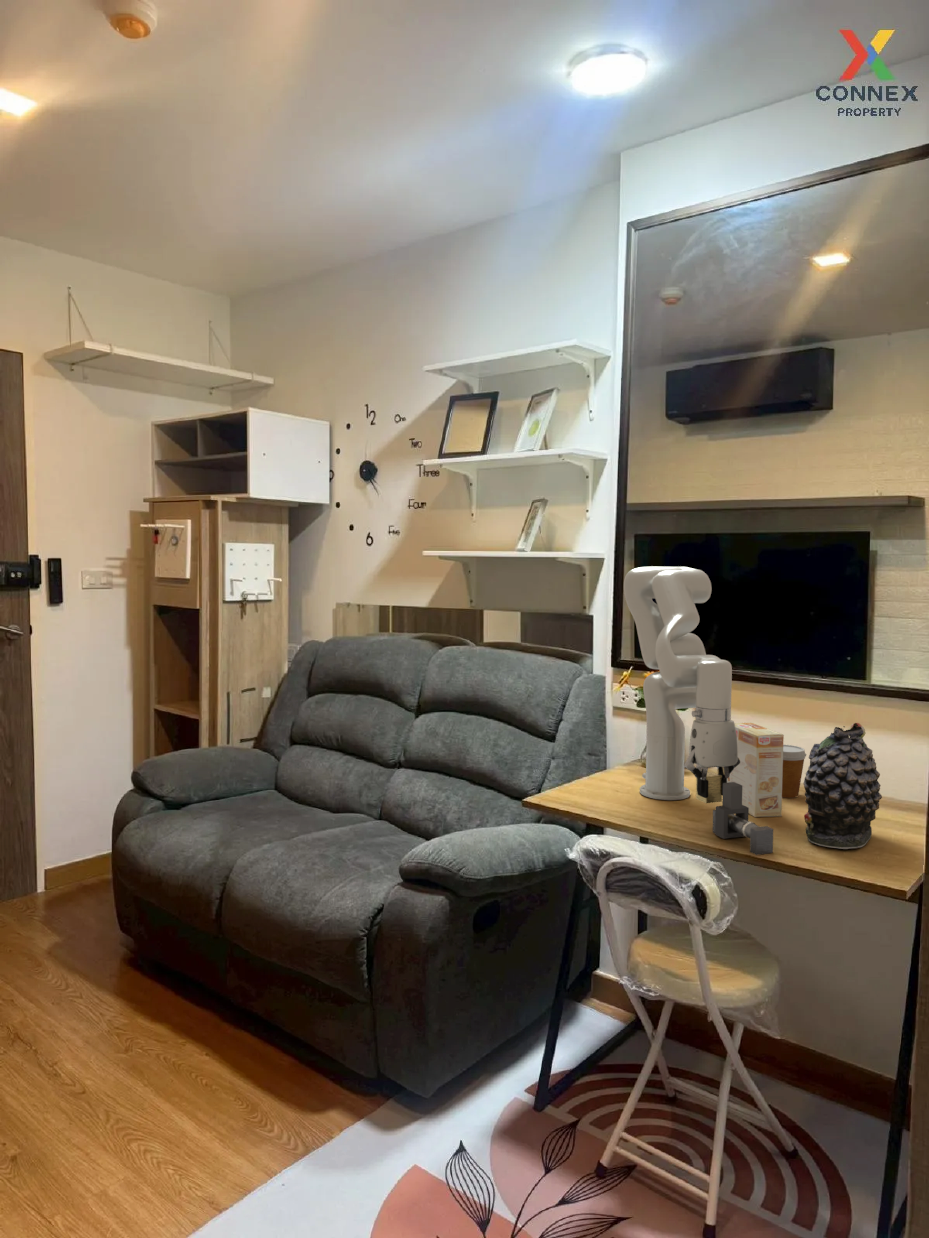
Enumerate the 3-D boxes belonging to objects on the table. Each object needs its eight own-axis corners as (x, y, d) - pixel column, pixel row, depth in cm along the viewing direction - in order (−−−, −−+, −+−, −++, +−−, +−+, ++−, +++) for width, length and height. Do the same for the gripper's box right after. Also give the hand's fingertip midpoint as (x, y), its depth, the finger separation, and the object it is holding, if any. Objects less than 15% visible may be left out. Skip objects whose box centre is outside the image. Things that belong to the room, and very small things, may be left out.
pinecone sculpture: (814, 820, 191) (817, 713, 189) (886, 832, 182) (890, 720, 181) (791, 845, 174) (794, 728, 172) (869, 860, 165) (874, 736, 164)
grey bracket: (715, 834, 180) (716, 783, 179) (739, 831, 182) (740, 781, 181) (723, 838, 177) (724, 787, 176) (747, 835, 179) (749, 784, 178)
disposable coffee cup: (809, 800, 206) (810, 753, 206) (769, 798, 208) (770, 751, 207) (800, 790, 216) (801, 744, 215) (762, 788, 217) (763, 743, 216)
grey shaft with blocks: (712, 832, 183) (713, 809, 182) (728, 830, 184) (728, 807, 183) (756, 854, 168) (756, 830, 168) (772, 852, 170) (773, 828, 169)
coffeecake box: (782, 816, 194) (785, 734, 192) (754, 817, 193) (756, 735, 191) (751, 798, 208) (753, 721, 207) (725, 799, 207) (726, 722, 206)
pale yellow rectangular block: (706, 803, 185) (706, 776, 184) (696, 798, 188) (696, 772, 188) (721, 801, 186) (721, 775, 186) (711, 797, 190) (711, 771, 189)
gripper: (690, 720, 179) (688, 803, 180) (755, 715, 184) (753, 796, 185) (671, 713, 186) (670, 794, 187) (734, 709, 191) (733, 787, 192)
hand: (711, 794), depth 186 cm, fingers closed on pale yellow rectangular block, 4 cm apart
